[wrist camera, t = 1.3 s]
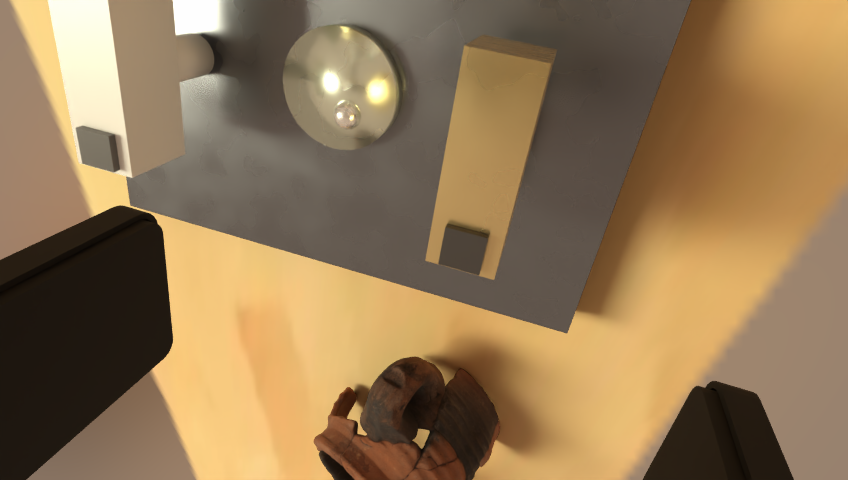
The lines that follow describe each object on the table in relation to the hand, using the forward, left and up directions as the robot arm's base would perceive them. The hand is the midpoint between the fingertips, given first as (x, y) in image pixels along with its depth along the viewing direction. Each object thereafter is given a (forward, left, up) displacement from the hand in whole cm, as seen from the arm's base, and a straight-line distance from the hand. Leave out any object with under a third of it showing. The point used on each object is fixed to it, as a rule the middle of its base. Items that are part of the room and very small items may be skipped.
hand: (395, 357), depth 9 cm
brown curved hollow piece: (+18, -2, -16) cm, 24 cm away
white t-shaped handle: (-1, -14, -14) cm, 20 cm away
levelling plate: (0, -7, -16) cm, 18 cm away
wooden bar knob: (-1, 0, -14) cm, 14 cm away
